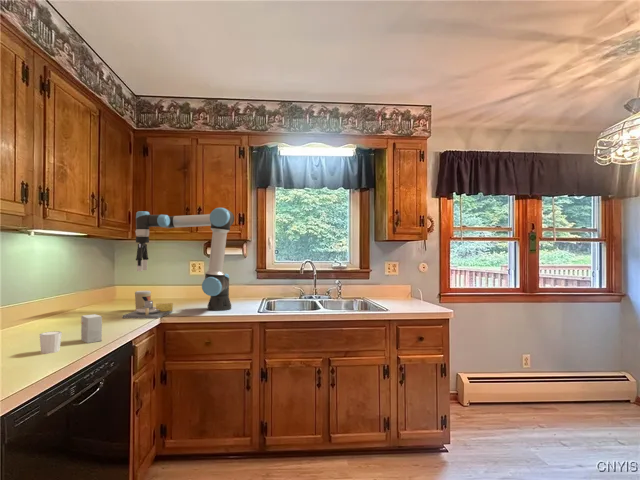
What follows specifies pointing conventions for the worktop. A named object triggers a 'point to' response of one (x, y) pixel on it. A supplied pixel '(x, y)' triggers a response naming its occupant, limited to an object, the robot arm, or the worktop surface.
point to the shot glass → (50, 342)
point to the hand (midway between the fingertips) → (142, 270)
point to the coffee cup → (142, 298)
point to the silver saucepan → (158, 308)
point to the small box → (91, 328)
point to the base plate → (154, 315)
